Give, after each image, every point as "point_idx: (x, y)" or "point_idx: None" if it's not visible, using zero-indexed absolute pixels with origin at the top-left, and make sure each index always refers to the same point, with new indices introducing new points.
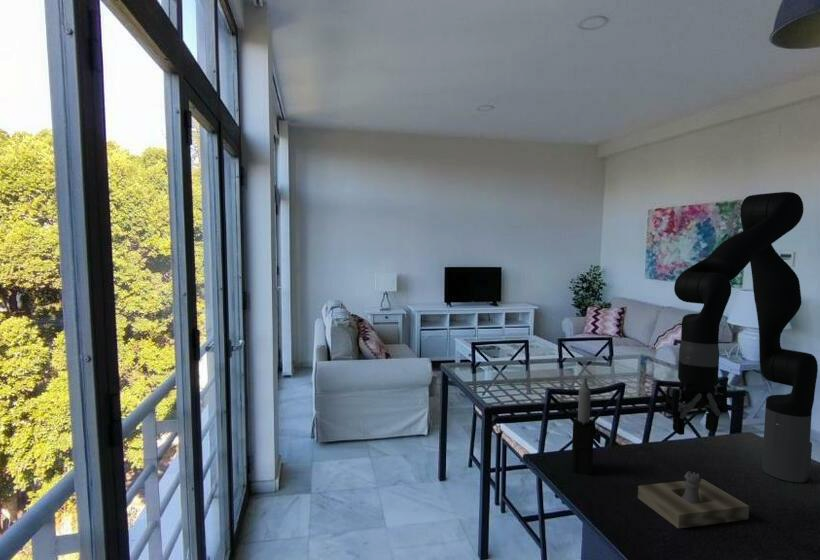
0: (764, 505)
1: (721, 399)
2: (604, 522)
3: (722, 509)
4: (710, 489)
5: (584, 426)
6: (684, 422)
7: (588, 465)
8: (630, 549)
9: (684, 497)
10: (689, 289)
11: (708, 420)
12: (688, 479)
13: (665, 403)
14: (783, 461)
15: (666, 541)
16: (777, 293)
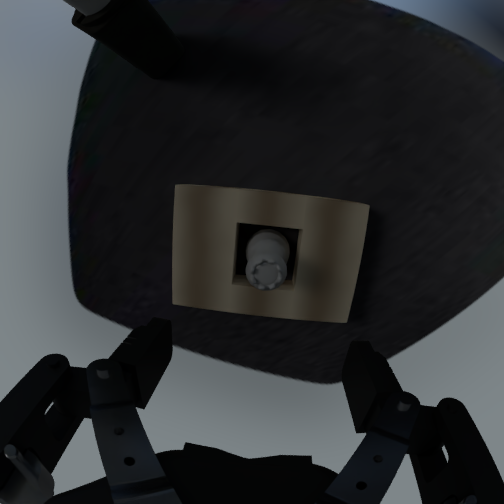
0: (416, 283)
1: (427, 499)
2: (80, 239)
3: (279, 317)
4: (338, 250)
5: (82, 29)
6: (150, 395)
7: (143, 71)
8: (83, 301)
9: (250, 250)
10: None
11: (360, 380)
12: (246, 274)
13: (16, 385)
14: None
15: (138, 308)
16: None
